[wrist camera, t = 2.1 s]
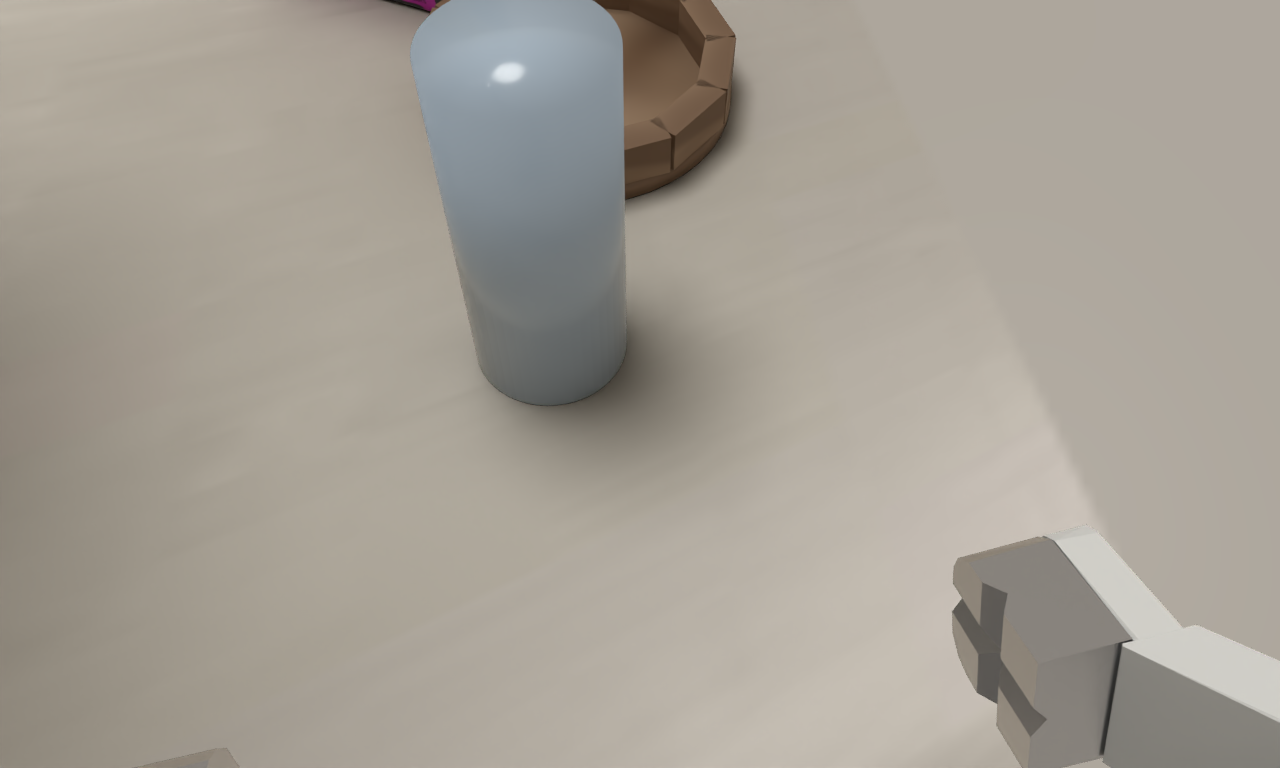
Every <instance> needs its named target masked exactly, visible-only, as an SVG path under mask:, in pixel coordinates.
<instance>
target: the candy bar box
mask: <svg viewBox="0 0 1280 768" xmlns="http://www.w3.org/2000/svg"><path fill="white" fill-rule="evenodd" d="M393 1H397V2H400V3H404V4H407V5H411V6H414V7H417V8H420V9H424V10H428V11H431V10H432V7H433V8H435V5H436V4H437V3H439V2H440V1H442V0H393Z"/></svg>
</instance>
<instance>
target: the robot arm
mask: <svg viewBox="0 0 1280 768" xmlns="http://www.w3.org/2000/svg"><path fill="white" fill-rule="evenodd" d="M953 584H954V586H955V587H956V589H957V591H958V592H959V594H960V595H961V597H962V599H961V601H960V602H959V603H958V605H957V606H956V607H955V609H954V610H953V611H952V626H953V636H954V640H955V644H956V648H957V653H958V656H959V659H960V661H961V663H962V666H963V668H964V670H965V672H966V675H967V676H968V678H969V680H970V682H971V683H972V685H973V687H974V689H975V690H976V692H977V693H978V694H980V695H982V696H984V697H986V698H987V699H989V700H991V701H993V702H995V703H997V722H996V726H997V727H998V729H999V731H1000V732H1001V734H1002V736H1003V737H1004V739H1005V741H1006V742H1007V744H1008V746H1009V747H1010V749H1011V751H1012V752H1013V754H1014V756H1015V757H1016V759H1017V760H1018V762H1019V764H1020V765H1021V767H1022V768H1063V767H1067V766H1071V765H1075V764H1079V763H1083V762H1088V761H1092V760H1096V759H1100V758H1103V763H1105V764H1106V765H1108V766H1109V767H1111V768H1280V661H1279V660H1276V659H1274V658H1272V657H1269V656H1267V655H1265V654H1263V653H1260V652H1258V651H1256V650H1254V649H1251V648H1249V647H1247V646H1244V645H1242V644H1240V643H1238V642H1235V641H1233V640H1231V639H1228V638H1226V637H1224V636H1221V635H1219V634H1217V633H1215V632H1212V631H1210V630H1208V629H1206V628H1203V627H1201V626H1199V625H1193V626H1189V627H1184V628H1183V627H1182V625H1181V624H1180V623H1179V622H1178V621H1177V620H1176V619H1175V617H1174V616H1173V615H1172V614H1171V613H1170V612H1169V611H1168V610H1167V609H1166V608H1165V606H1164V605H1163V604H1162V603H1161V602H1160V601H1159V600H1158V599H1157V597H1156V596H1155V595H1154V594H1153V593H1152V592H1151V591H1150V589H1148V587H1147V586H1146V585H1145V584H1144V583H1143V582H1142V580H1141V579H1140V578H1139V577H1138V576H1137V575H1136V574H1135V573H1134V571H1133V570H1132V569H1131V568H1130V567H1129V566H1128V565H1127V564H1126V563H1125V561H1124V560H1123V559H1122V558H1121V557H1120V556H1119V555H1118V554H1117V552H1116V551H1115V550H1114V549H1113V548H1112V547H1111V546H1110V545H1109V543H1108V542H1107V541H1106V540H1105V539H1104V538H1103V537H1102V536H1101V534H1100V533H1099V532H1098V531H1097V530H1096V529H1094V528H1092V527H1090V526H1088V525H1083V526H1079V527H1075V528H1071V529H1068V530H1064V531H1060V532H1056V533H1052V534H1048V535H1044V536H1043V537H1035V538H1031V539H1028V540H1024V541H1020V542H1016V543H1013V544H1009V545H1005V546H1001V547H998V548H994V549H990V550H987V551H983V552H979V553H975V554H972V555H968V556H964V557H960V558H958V559H957V561H956V563H955V565H954V570H953ZM134 768H240V766H239V765H238V764H237V762H236V761H235V759H234V758H233V756H232V755H231V754H230V752H229V751H228V749H227V748H220V749H213V750H209V751H204V752H200V753H196V754H191V755H187V756H183V757H178V758H174V759H169V760H165V761H161V762H156V763H152V764H148V765H143V766H139V767H134Z"/></svg>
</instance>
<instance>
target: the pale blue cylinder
mask: <svg viewBox="0 0 1280 768" xmlns="http://www.w3.org/2000/svg"><path fill="white" fill-rule="evenodd" d="M410 58H411V65H412V69H413V74H414V78H415V83H416V87H417V92H418V96H419V101H420V105H421V110H422V114H423V118H424V123H425V127H426V132H427V136H428V141H429V145H430V150H431V154H432V158H433V163H434V167H435V172H436V176H437V181H438V185H439V190H440V194H441V198H442V203H443V207H444V212H445V216H446V221H447V225H448V230H449V234H450V238H451V243H452V247H453V252H454V256H455V261H456V265H457V270H458V274H459V278H460V283H461V287H462V292H463V296H464V301H465V305H466V310H467V314H468V318H469V323H470V327H471V332H472V336H473V341H474V345H475V350H476V354H477V358H478V362H479V365H480V367H481V370H482V372H483V373H484V375H485V376H486V378H487V379H488V380H489V382H490V383H491V384H492V385H493V386H494V387H496V388H497V389H498V390H499V391H501V392H502V393H504V394H505V395H507V396H509V397H511V398H513V399H516V400H518V401H521V402H525V403H529V404H534V405H545V406H548V405H561V404H567V403H571V402H575V401H578V400H581V399H583V398H586V397H588V396H590V395H592V394H594V393H595V392H597V391H598V390H600V389H601V388H603V387H604V386H605V385H606V384H607V383H608V382H609V381H610V380H611V379H612V378H613V377H614V376H615V374H616V373H617V371H618V370H619V368H620V366H621V364H622V362H623V360H624V356H625V353H626V346H627V332H626V255H625V178H624V101H623V42H622V36H621V32H620V29H619V27H618V25H617V23H616V22H615V20H614V19H613V18H612V16H611V15H610V14H609V13H608V12H607V11H606V10H605V9H604V8H603V7H601V6H600V5H599V4H597V3H596V2H595V1H593V0H451V1H449V2H447V3H445V4H444V5H442V6H441V7H439V8H438V9H437V10H435V11H434V12H433V13H432V14H431V15H429V16H428V17H427V18H426V19H425V21H424V22H423V23H422V24H421V26H420V27H419V28H418V30H417V32H416V34H415V35H414V38H413V41H412V44H411V51H410Z"/></svg>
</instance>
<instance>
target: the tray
mask: <svg viewBox="0 0 1280 768" xmlns="http://www.w3.org/2000/svg"><path fill="white" fill-rule="evenodd" d="M449 1H451V0H442V1H440V2H439V3H437V4H436V5H435V8H433V7H432V10H431V12H430V14H429V15H431V14H432V13H433V12H434V11H435V10H437V9H438V8H439V7H441V6H442V5H444V4H445V3H447V2H449ZM593 1H595V2H596V3H597V4H599V5H600V6H601V7H603V8H604V9H605V10H606V11H607V12H608V13H609V14H610V15H611V16H612V18H613V19H614V20H615V22H616V23H617V25H618V27H619V29H620V32H621V36H622V42H623V101H624V178H625V199H628V198H632V197H635V196H638V195H641V194H645V193H648V192H651V191H653V190H655V189H658V188H660V187H662V186H664V185H666V184H669V183H671V182H672V181H674V180H676V179H677V178H679V177H681V176H682V175H684V174H686V173H687V172H688V171H689V170H691V169H692V168H693V167H695V166H696V165H697V164H698V163H700V162H701V161H702V159H703V158H704V157H705V156H706V155H707V154H708V153H709V152H710V151H711V150H712V149H713V147H714V146H715V144H716V143H717V141H718V140H719V138H720V137H721V134H722V132H723V130H724V128H725V126H726V123H727V119H728V115H729V111H730V100H731V80H732V73H733V63H734V53H735V43H736V38H735V34H734V32H733V31H732V29H731V28H730V27H729V25H728V24H727V22H726V21H725V20H724V18H723V17H722V15H721V14H720V13H719V11H718V10H717V8H716V7H715V5H714V4H713V3H712V1H711V0H593Z"/></svg>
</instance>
